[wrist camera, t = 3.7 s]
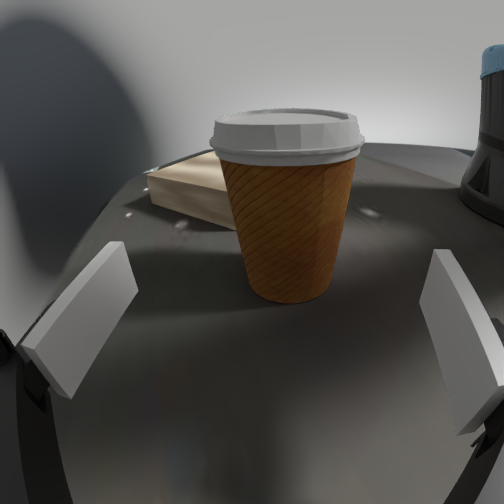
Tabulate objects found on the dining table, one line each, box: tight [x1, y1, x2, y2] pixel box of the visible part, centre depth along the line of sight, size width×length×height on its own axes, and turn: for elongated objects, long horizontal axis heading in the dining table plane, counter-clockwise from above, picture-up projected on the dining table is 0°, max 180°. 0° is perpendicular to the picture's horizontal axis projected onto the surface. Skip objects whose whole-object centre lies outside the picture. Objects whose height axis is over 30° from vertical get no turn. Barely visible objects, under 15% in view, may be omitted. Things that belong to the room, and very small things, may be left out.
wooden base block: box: [147, 151, 237, 231], centre depth 39 cm, size 15×15×4 cm
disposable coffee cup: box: [210, 108, 365, 303], centre depth 21 cm, size 10×10×12 cm
